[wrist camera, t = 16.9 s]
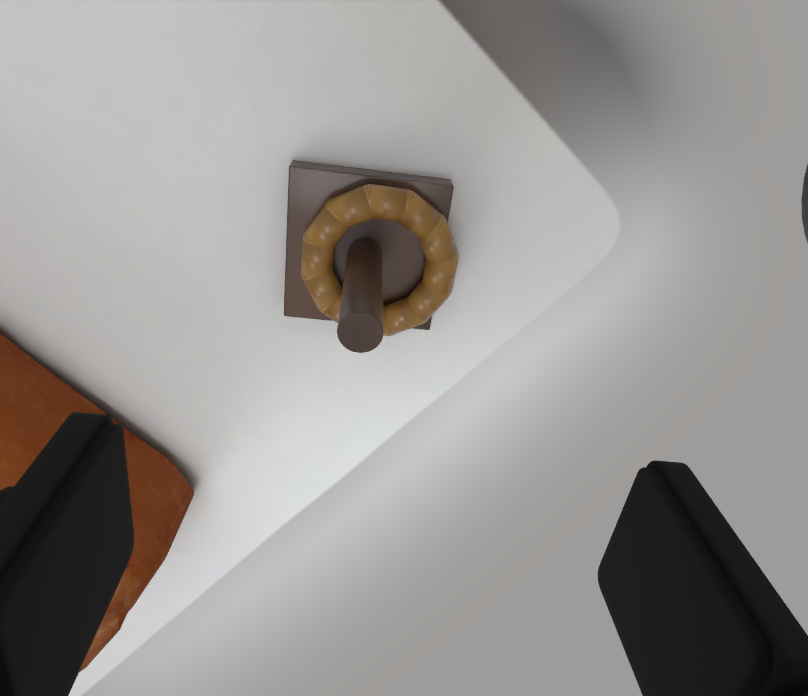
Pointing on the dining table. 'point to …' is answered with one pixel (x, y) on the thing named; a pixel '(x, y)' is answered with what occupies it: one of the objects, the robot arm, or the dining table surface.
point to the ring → (388, 207)
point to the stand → (357, 249)
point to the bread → (147, 469)
